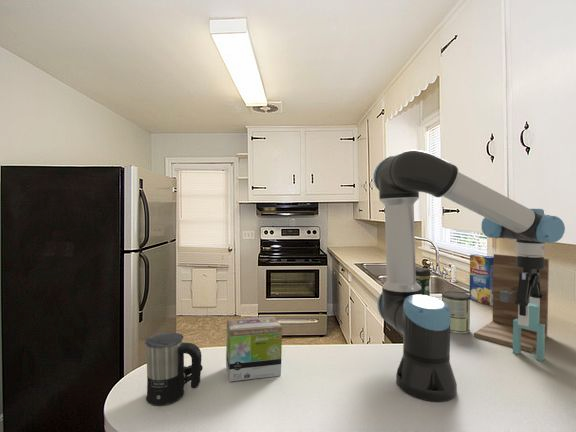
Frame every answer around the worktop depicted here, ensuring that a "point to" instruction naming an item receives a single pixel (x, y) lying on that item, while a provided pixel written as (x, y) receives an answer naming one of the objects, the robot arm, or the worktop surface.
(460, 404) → the worktop surface
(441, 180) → the robot arm
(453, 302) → the coffee can
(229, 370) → the tea box
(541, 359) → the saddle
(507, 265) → the hook stand
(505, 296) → the hook arm
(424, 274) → the coffee jar
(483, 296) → the juice carton
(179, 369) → the milk frother
